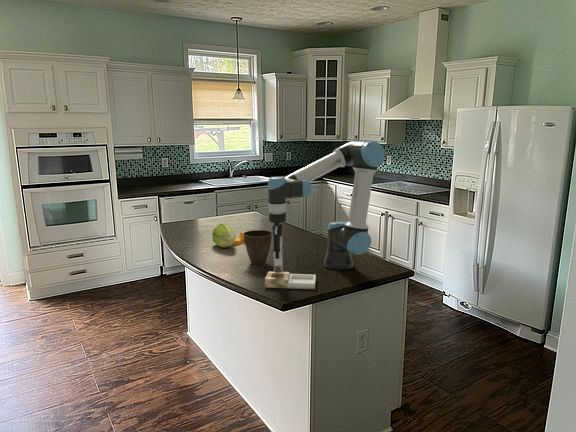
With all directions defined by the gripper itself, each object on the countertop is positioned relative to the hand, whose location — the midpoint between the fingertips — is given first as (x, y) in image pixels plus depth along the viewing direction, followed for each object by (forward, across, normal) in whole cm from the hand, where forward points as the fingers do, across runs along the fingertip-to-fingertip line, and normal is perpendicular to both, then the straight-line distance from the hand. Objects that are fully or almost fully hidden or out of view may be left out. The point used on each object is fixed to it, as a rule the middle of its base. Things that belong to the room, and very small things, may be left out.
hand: (278, 263), depth 192 cm
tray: (+10, -1, +11) cm, 14 cm away
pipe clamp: (+10, -66, -33) cm, 74 cm away
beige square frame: (+10, 0, 0) cm, 10 cm away
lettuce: (+10, -56, -38) cm, 68 cm away
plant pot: (+10, -30, -14) cm, 35 cm away
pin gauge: (+4, 0, 0) cm, 4 cm away
